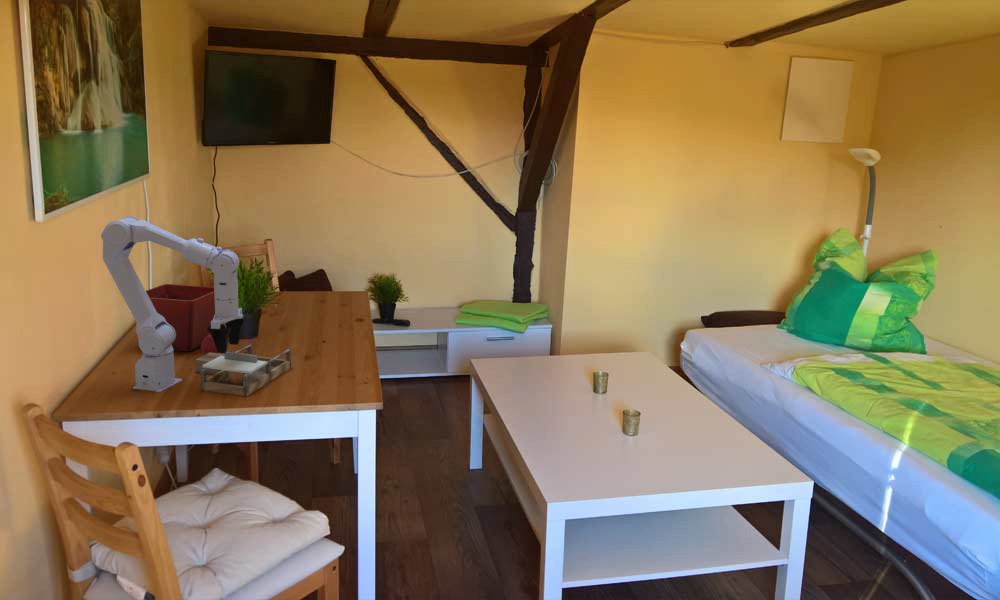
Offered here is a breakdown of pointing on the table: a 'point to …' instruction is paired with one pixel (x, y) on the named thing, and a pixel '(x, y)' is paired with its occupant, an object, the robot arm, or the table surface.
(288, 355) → the cold frame
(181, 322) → the plant pot
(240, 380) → the pot
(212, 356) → the stand
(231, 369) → the lid
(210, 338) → the onion
